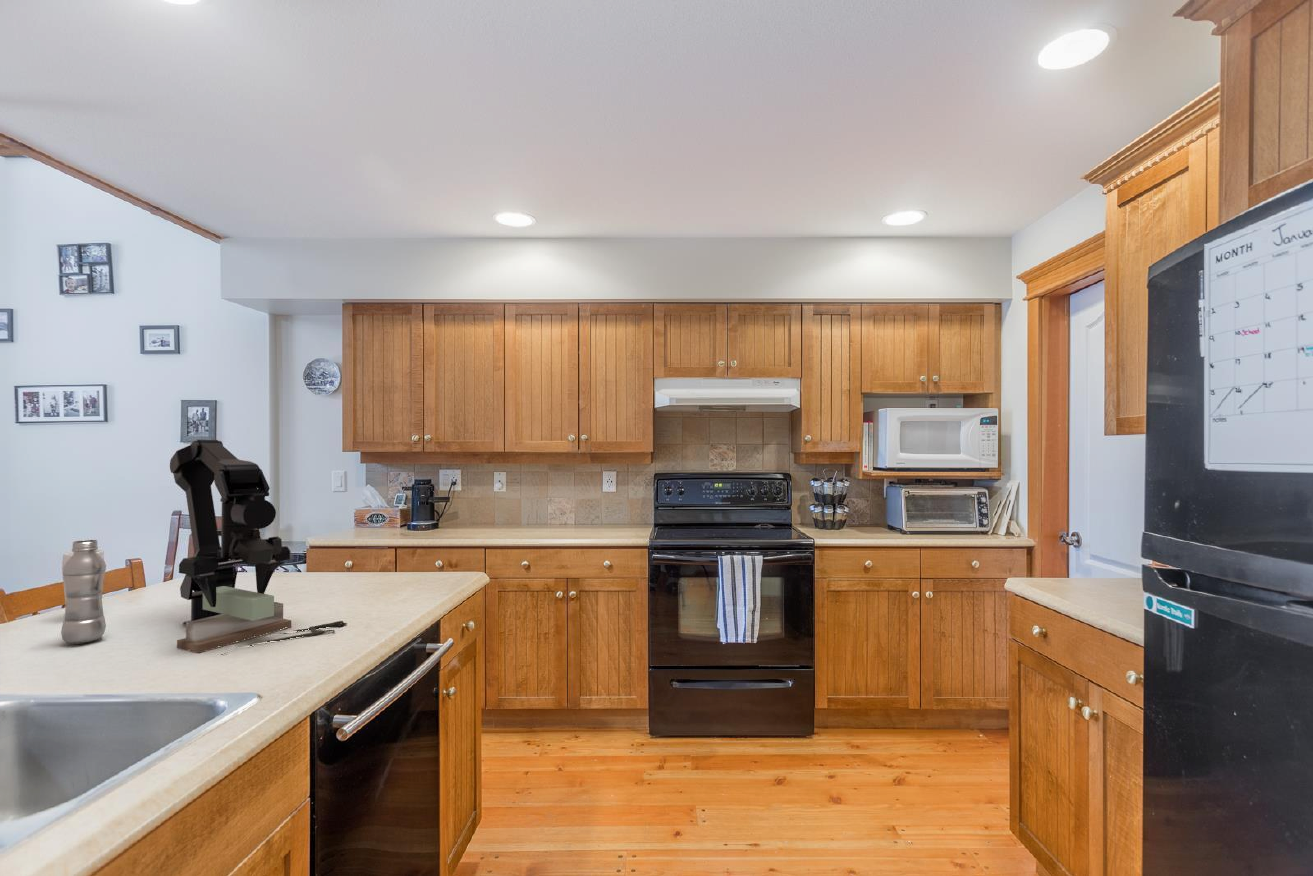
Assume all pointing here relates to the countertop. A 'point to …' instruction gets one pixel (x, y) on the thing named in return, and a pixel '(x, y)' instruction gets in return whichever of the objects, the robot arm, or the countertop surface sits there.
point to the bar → (241, 603)
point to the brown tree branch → (314, 630)
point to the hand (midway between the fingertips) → (237, 601)
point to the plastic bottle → (83, 594)
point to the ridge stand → (229, 630)
